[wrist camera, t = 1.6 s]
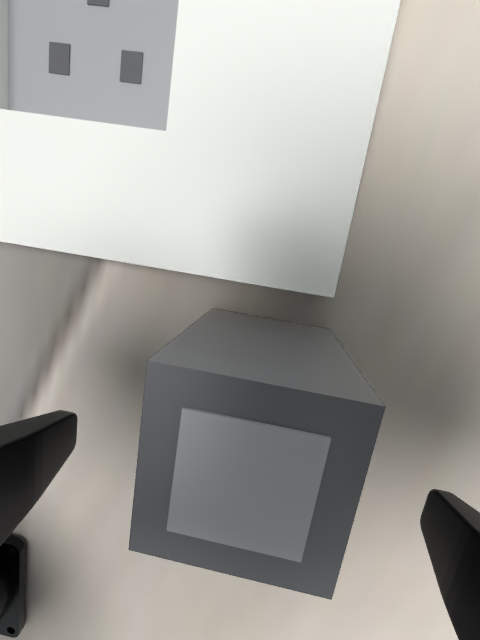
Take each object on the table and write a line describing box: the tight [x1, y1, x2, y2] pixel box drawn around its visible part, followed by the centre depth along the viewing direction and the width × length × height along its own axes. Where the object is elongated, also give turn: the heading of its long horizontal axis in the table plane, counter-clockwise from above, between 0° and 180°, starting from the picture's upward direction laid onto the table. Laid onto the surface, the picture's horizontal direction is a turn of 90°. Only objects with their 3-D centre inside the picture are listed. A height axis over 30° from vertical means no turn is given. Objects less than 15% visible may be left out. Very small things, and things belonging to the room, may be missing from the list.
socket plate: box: [0, 0, 401, 298], centre depth 11 cm, size 16×20×3 cm
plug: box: [129, 308, 385, 600], centre depth 10 cm, size 5×5×7 cm
